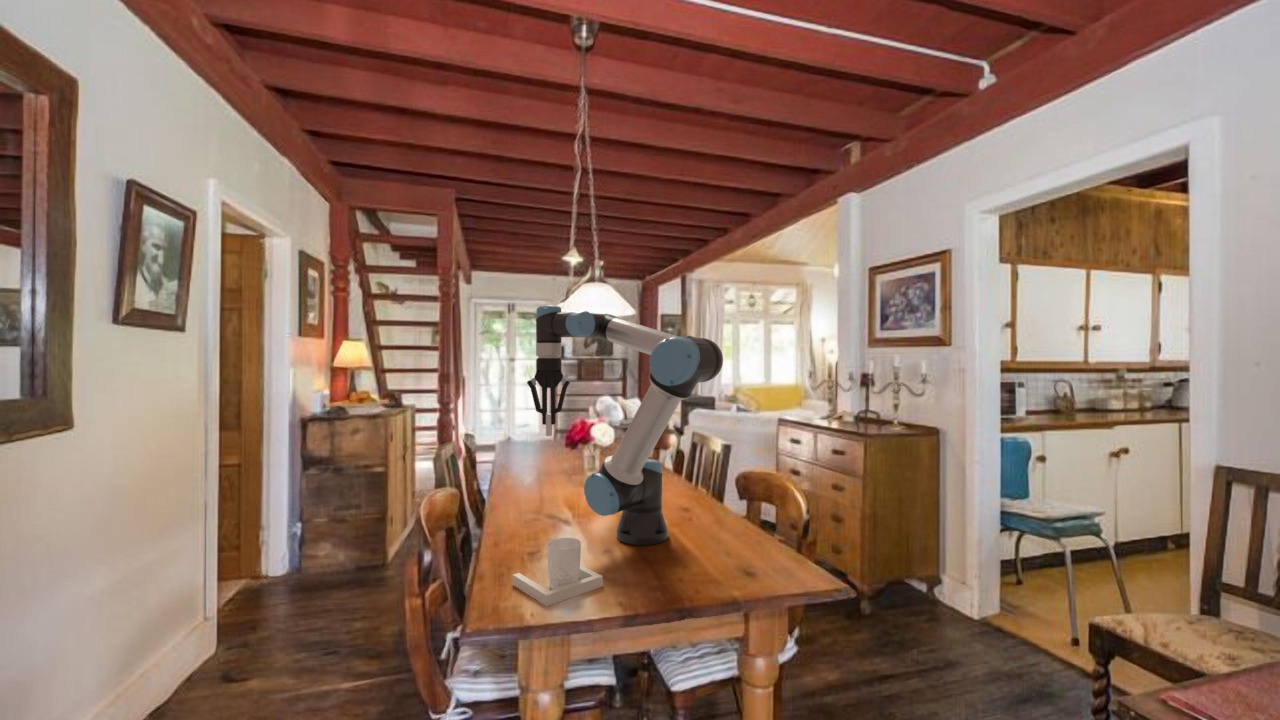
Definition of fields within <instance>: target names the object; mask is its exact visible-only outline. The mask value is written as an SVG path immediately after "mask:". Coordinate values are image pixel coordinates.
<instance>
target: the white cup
mask: <svg viewBox="0 0 1280 720" xmlns="http://www.w3.org/2000/svg"><path fill="white" fill-rule="evenodd" d="M546 547H547V548H546V551H547V553H546V554H547V572H548V579H549V588H550V590H553V589H556V588H559V587H562V586H564V585H567V584H570V583H573V582H576V581H579V580H580V579H579V573H580V565H581V557H582V556H581V553H582V541H581V540H580V539H578V538H576V537H567V536H566V537H565V536H563V537H557V538H553V539H551V540H548V541H547V542H546Z"/></svg>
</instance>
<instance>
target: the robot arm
mask: <svg viewBox="0 0 1280 720" xmlns="http://www.w3.org/2000/svg"><path fill="white" fill-rule="evenodd" d="M536 308H537V309H536V313H535V314H536V315H535V316H536V317H535V330H536V332H535V339H536V342H535V355H536V357H537V358H536V360H535V363H536V365H535V374H534V377H533V378H531V379H530V380H528V381H527V385H528V387H529V388H530V391H531V395H532V399H533V404H534V408H535V411H536V412H537V413H540V414H541V419H542V420H541V422H542V423H541V424H542V425H545V436H546V437H552V435H553V426H554V425H555V424H556V423H557V422H556V419H557V417H556V414H557V413H560V412H561V411H562V410H563V406H564V402H565V398H566V394H567V390H568V387H569V385H570V384H571V381H570V380H569V379H567V378H565V377H564V374H563V372H562V359H561V357H562V338H582V339H583V338H587V339H588V338H590V339H600V340H604V341H607V342H609V343H610V342H611V343H613V344H616V345H619V346H622V347H625V348H628V349H631V350H634V351H637V352H640V353H643V354H647V355H649V365H650V367H649V369H650V372H649V375H648V379H649V382H650V385H649V387H648V390H647V391H646V393H645V395H644V397H643V398H642V401H641V402H640V405H639V406H638V408H637V410H636V412H635V414H634V416H633V418H632V419H631V422H630V423H629V425H628V427H627V429H626V431H625V433H624V435H623V437H622V438H621V441H620V443H619V444H618V446H617V448H616V450H615V452H614V454H613V455H609V456H606V457H605V459H604V461H603V463H601V466H600V469H599V470H598V471H596V472H593V473H592V474H590V475H589V476H588V477H587V478H586V479H585V481H584V485H583V493H584V496H585V501H586V503H587V505H588V506H589V508H590V509H591V510H592V511H593V513H595V514H596V515H598V516H603V517H608V516H610V515H611V516H613V515H615V514H617V513H621V515H620V518H619V521H618V524H617V526H616V539H617V540H618V541H619V542H621V543H624V544H627V545H634V546H651V545H657V544H661V543H663V542H665V541H667V540H668V538H669V533H668V531H669V530H668V525H667V522H666V519H665V517H664V514H663V510H662V509H663V504H662V503H663V495H662V494H663V470H662V464H661V462H660V461H659V460H656V459H652V458H650V456H651V454H652V453H653V450H654V449H655V447H656V446H657V444H658V442H659V440H660V438H661V436H662V434H663V433H664V431H665V429H666V427H667V425H668V424H669V422H670V420H671V419H672V417H673V415H674V413H675V411H676V409H677V407H678V406H679V404H680V402H681V401H684V400H688V399H689V398H690V396H691V395H692V393H693V391H694V389H695V387H696V386H697V384H698V383H706V382H709V381H711V380H712V379H714V378H716V377H717V376H718V375H719V373H720V371H721V370H722V368H723V363H724V356H723V353H722V350H721V348H720V347H719V346H718V344H717V343H716V342H714V341H712V340H711V339H708V338H705V337H695V336H692V335H685V336H681V335H680V336H678V335H675V334H672V333H668V332H665V331H662V330H658V329H656V328H655V329H654V328H652V327H650V326H649V327H648V326H645V325H643V324H642V325H641V324H638V323H634V322H632V321H628V320H624V319H621V318H618V317H617V316H616V315H612V314H609V313H594V312H590V311H588V310H572V311H562V308H561V306H557V305H539V306H538V307H536ZM537 383H538V385H539V386H540V387H541V403H540V399H539V394H538V390H537V387H536V385H537ZM560 383H561V385H562V387H561V392H560V394H559V395H560V396H559V399H558V403H556V401H557V396H556V394H557V391H556V390H557V387H558V386H559V385H560ZM548 389H549V390H550V413H548ZM556 406H557V407H556Z"/></svg>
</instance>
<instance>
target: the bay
mask: <svg viewBox="0 0 1280 720" xmlns="http://www.w3.org/2000/svg"><path fill="white" fill-rule="evenodd" d="M603 578H604V576H603V575H602V574H599V573H598V572H595V571H593V570H591V569H589V568H587V567H585V566H583V565H581V564H580V573H579V581H576V582H573V583H570V584H567V585H564V586H562V587H559V588H556V589H553V590H552V589H550V590H548V589H547V588H544V586H542V585H540V584H538V583H537V582H535V581H533V580H532V579H530V578H528V577H527V576H525V575H523V574H522V573H520V572H518V573H513V574H512V585H513V586H514V587H515V588H517V589H518V588H519V590H520V591H521V592H523V593H524V594H526V595H528V596H529V595H530V596H529V597H531V598H532V597H533V599H534V600H535V599H536V600H535V601H537V602H539V603H540V604H541V605H543V606H545V607H548V606H552V605H555V604H557V603H560V602H563V601H565V600H569V599H571V598H574V597H577V596H579V595H583V594H587V593H588V592H591V591H594V590H596V589H599V588H601V587H603V585H604V579H603Z"/></svg>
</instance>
